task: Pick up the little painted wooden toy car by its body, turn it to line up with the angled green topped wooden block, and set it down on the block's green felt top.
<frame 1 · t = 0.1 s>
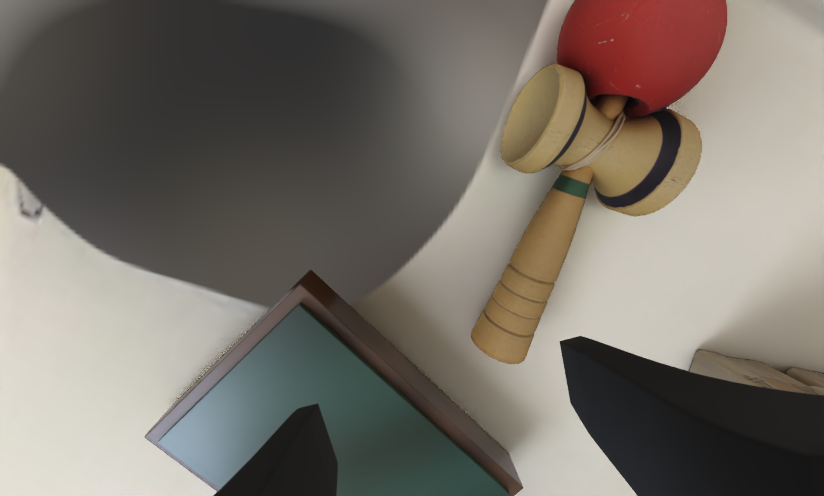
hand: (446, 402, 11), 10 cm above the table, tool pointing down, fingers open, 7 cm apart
green topped wooden block: (347, 430, 23), on the table
kendama: (550, 181, 21), on the table
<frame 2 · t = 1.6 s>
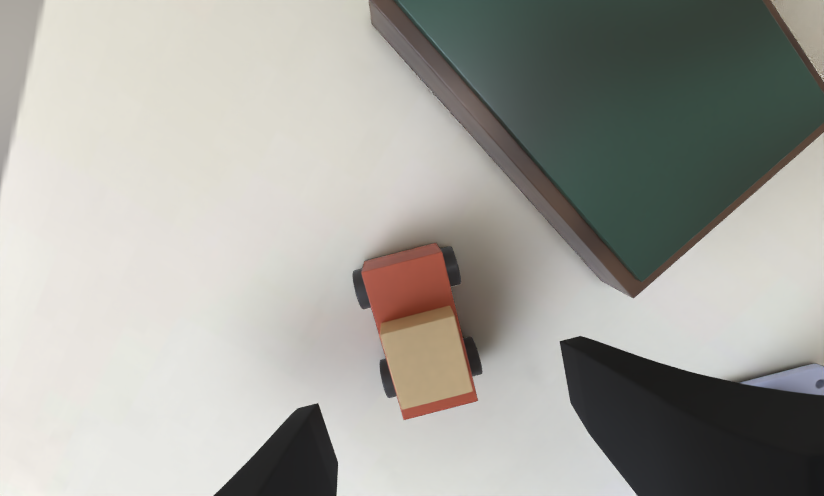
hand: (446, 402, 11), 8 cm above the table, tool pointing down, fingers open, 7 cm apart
green topped wooden block: (587, 74, 17), on the table
toy car: (417, 316, 19), on the table
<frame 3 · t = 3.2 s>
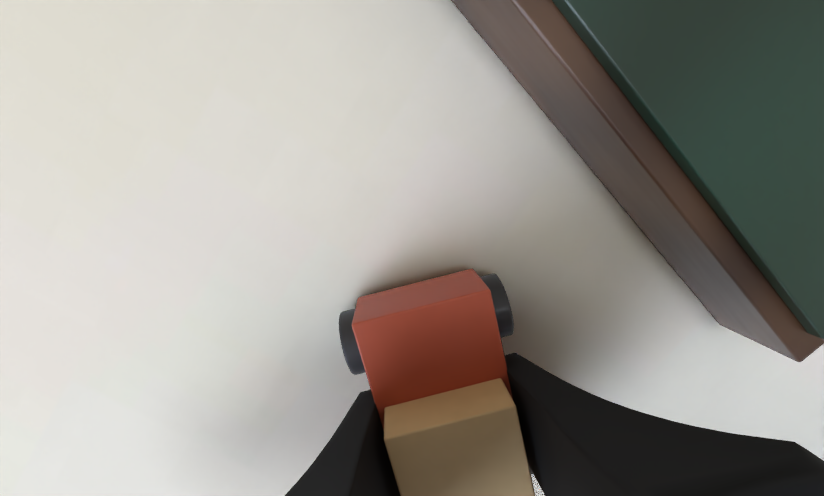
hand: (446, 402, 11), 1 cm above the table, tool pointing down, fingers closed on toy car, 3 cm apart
toy car: (439, 377, 13), on the table, touching gripper
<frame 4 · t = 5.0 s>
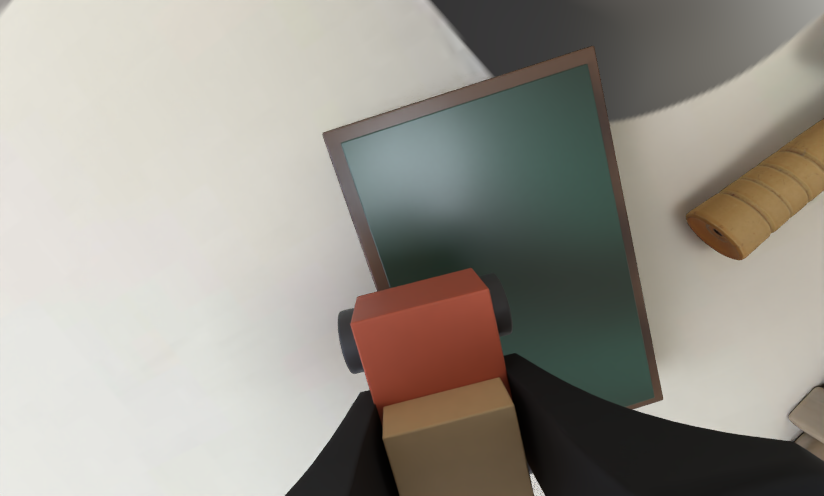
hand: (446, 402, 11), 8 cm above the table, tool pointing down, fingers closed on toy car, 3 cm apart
green topped wooden block: (493, 264, 19), on the table
toy car: (438, 376, 13), point 7 cm above the table, touching gripper
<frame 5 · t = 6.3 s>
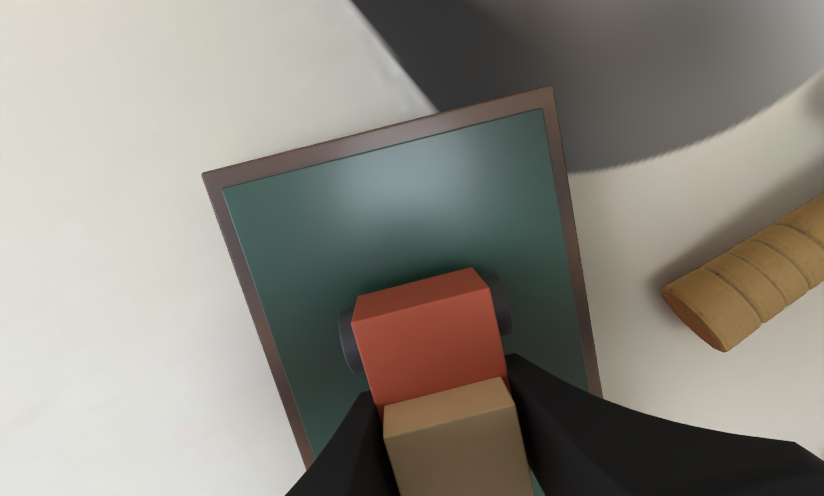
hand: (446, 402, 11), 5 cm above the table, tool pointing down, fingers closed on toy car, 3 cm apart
green topped wooden block: (429, 332, 16), on the table
toy car: (439, 376, 13), point 3 cm above the table, touching gripper
when the fingers open (4 cm above the table, at t = 6.8 s): toy car stays where it is, resting on green topped wooden block.
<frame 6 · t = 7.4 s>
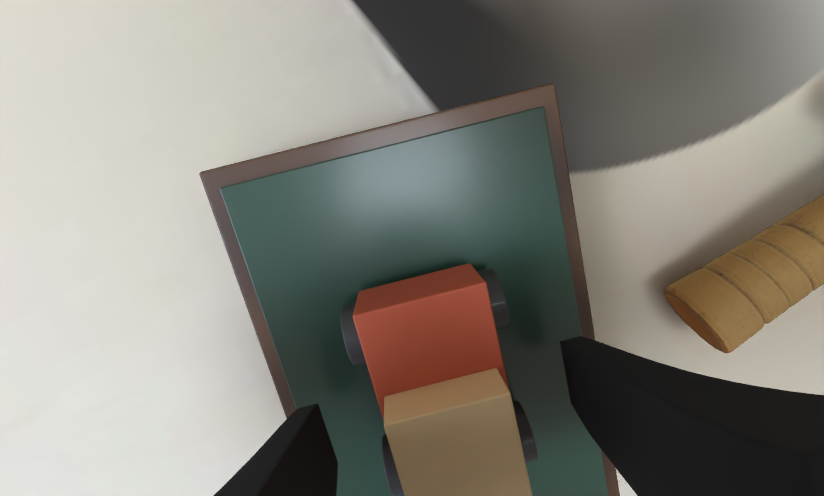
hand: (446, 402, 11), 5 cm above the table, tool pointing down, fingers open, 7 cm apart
green topped wooden block: (429, 333, 16), on the table
toy car: (438, 369, 13), point 3 cm above the table, touching green topped wooden block
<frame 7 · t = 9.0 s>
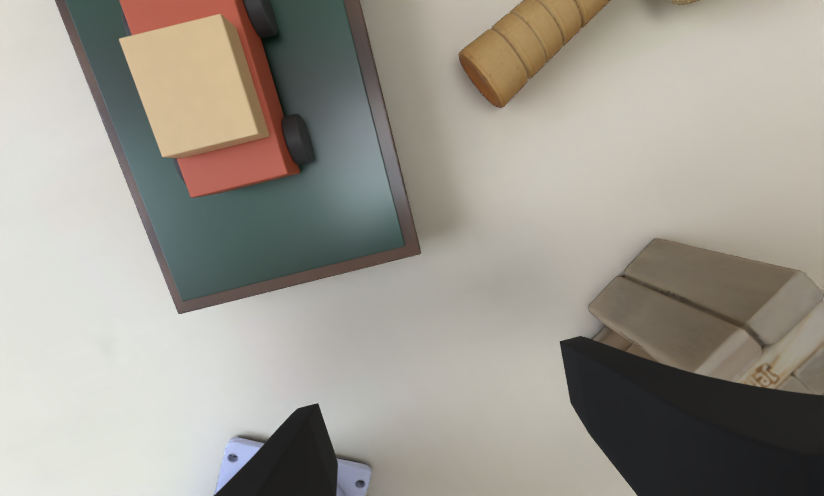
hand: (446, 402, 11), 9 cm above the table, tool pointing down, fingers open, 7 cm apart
green topped wooden block: (261, 106, 18), on the table
block tower: (760, 437, 24), on the table
toy car: (235, 93, 15), point 3 cm above the table, touching green topped wooden block
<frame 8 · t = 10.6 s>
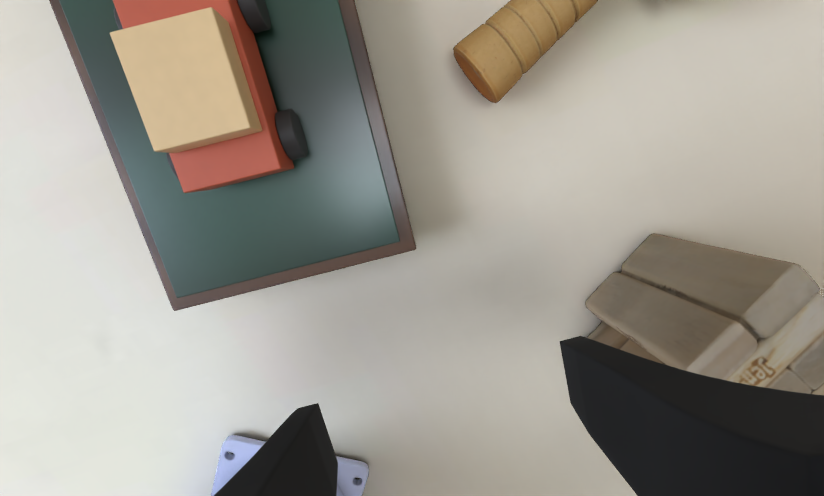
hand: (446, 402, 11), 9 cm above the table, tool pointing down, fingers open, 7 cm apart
green topped wooden block: (255, 102, 18), on the table
block tower: (758, 432, 24), on the table
toy car: (229, 89, 15), point 3 cm above the table, touching green topped wooden block
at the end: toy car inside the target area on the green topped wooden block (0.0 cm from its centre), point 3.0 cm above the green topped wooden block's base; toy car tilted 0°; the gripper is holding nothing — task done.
